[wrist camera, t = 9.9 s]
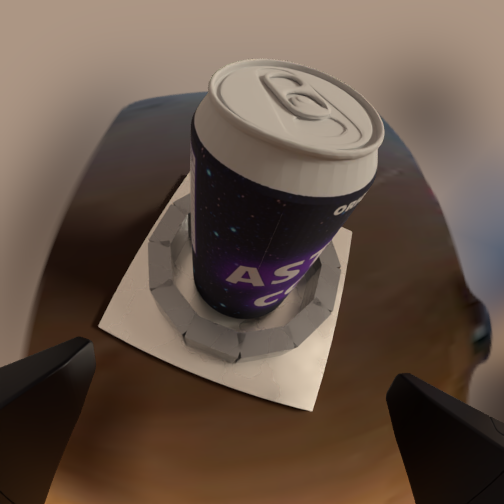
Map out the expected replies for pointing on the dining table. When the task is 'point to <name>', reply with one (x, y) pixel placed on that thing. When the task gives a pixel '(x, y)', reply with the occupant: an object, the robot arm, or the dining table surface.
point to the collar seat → (221, 326)
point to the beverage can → (273, 178)
